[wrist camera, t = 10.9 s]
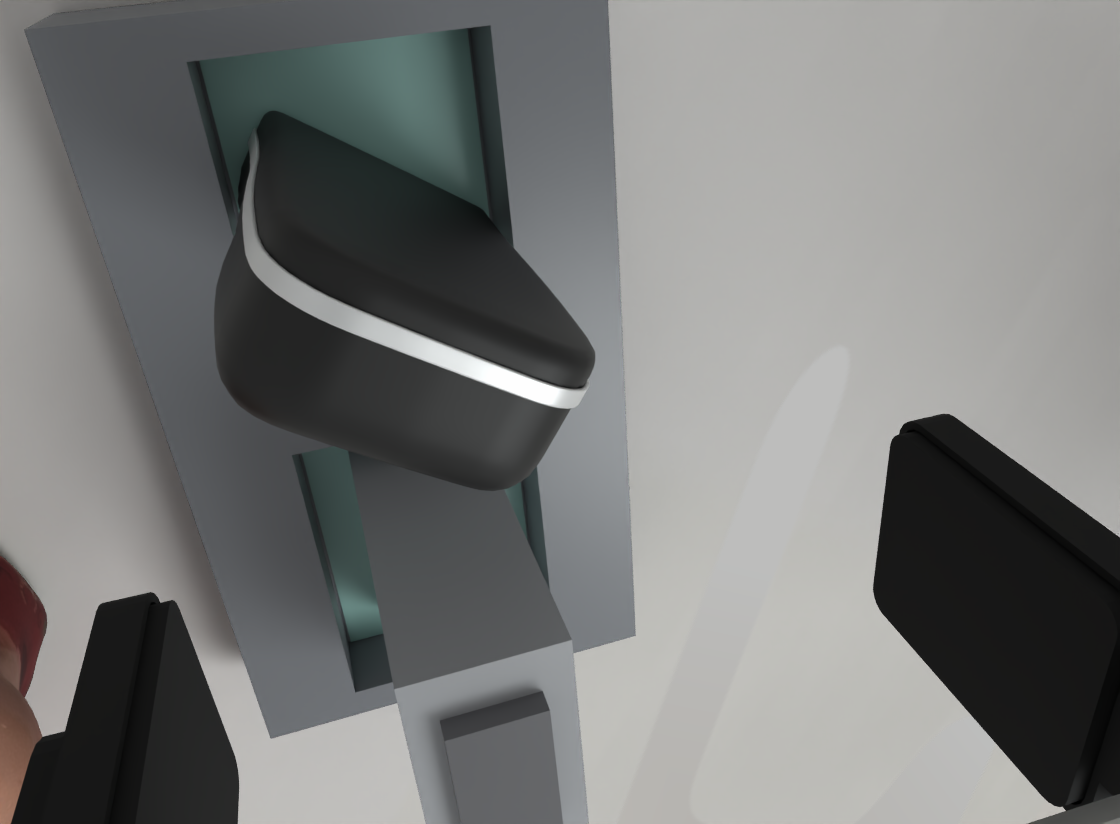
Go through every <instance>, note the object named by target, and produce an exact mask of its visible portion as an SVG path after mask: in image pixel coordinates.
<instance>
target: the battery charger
mask: <svg viewBox="0 0 1120 824" xmlns="http://www.w3.org/2000/svg"><path fill="white" fill-rule="evenodd" d="M248 147H249V150H248V153H247V155H246V157H245V160H244V162H243V165H242V167H241V174H240V181H239V186H238V205H239V209H240V211H239V216H238V221H237V227H236V233H235V235H234V237H233V240H232V242H231V245H230V247H229V249H228V252H227V254H226V257H225V259H224V261H223V264H222V268H221V271H220V275H219V278H218V282H217V286H216V294H215V303H214V336H215V352H216V363H217V368H218V372H219V375H220V378H221V381H222V382H223V384H224V386H225V387H226V389H227V391H228V392H229V394H230V395H231V397H232V398H233V399H234V400H235V402H236V403H237V404H238V405H239V406H240V407H241V408H243V409H244V410H246V411H247V412H248V413H250V414H251V415H252V416H254V417H256V418H258V419H260V420H262V421H264V422H266V423H268V424H270V425H273V426H276V427H278V428H281V429H284V430H286V431H289V432H292V433H295V434H298V435H301V436H304V437H307V438H310V439H313V440H316V441H319V442H322V443H326V444H329V445H332V446H335V447H338V448H341V449H344V450H347V451H350V452H353V453H357V454H360V455H363V456H366V457H369V458H372V459H375V460H378V461H381V462H385V463H388V464H391V465H395V466H398V467H401V468H405V469H408V470H411V471H415V472H418V473H421V474H425V475H428V476H431V477H435V478H438V479H441V480H445V481H448V482H451V483H455V484H458V485H461V486H465V487H469V488H473V489H477V490H484V491H496V490H503V489H508V488H510V487H512V486H514V485H516V484H518V483H519V482H521V481H522V480H524V479H525V478H527V477H528V476H530V474H531V473H532V472H533V470H534V469H535V468H536V466H537V465H538V464H539V462H540V461H541V460H542V458H543V456H544V454H545V453H546V451H547V449H548V448H549V446H550V444H551V442H552V441H553V439H554V437H555V435H556V434H557V432H558V430H559V429H560V427H561V425H562V423H563V422H564V420H565V418H566V416H567V415H568V413H569V411H570V410H571V408H575V407H576V406H578V405H579V403H580V401H581V400H582V398H583V396H584V394H585V393H586V391H587V389H588V387H589V379H588V378H589V377H590V375H591V373H592V370H593V368H594V364H595V350H594V349H593V347H592V345H591V343H590V342H589V340H588V338H587V336H586V335H585V334H584V332H583V331H582V330H581V328H580V327H579V326H578V324H577V323H576V322H575V320H574V319H573V318H572V316H571V315H570V314H569V313H568V311H567V310H566V309H565V307H564V306H563V305H562V304H561V302H560V301H559V300H558V299H557V297H556V296H555V295H554V294H553V293H552V291H551V290H550V289H549V288H548V287H547V285H546V284H545V283H544V282H543V281H542V279H541V278H540V277H539V276H538V275H537V274H536V273H535V271H534V270H533V269H532V268H531V267H530V266H529V264H528V263H527V262H526V261H525V260H524V259H523V258H522V257H521V255H520V254H519V253H518V252H517V251H516V250H515V249H514V248H513V247H512V245H511V244H510V243H509V242H508V241H507V240H506V239H505V237H504V236H503V235H502V234H501V232H500V231H499V230H498V229H497V227H496V226H495V225H494V223H493V222H492V221H491V219H490V218H489V217H488V216H487V214H486V213H485V211H484V210H483V209H481V208H480V207H478V206H476V205H474V204H472V203H470V202H468V201H466V200H464V199H462V198H459V197H457V196H455V195H453V194H451V193H449V192H447V191H445V190H443V189H441V188H439V187H437V186H435V185H433V184H431V183H429V182H426V181H424V180H422V179H420V178H418V177H416V176H414V175H412V174H410V173H408V172H406V171H404V170H402V169H400V168H397V167H395V166H393V165H391V164H389V163H387V162H385V161H383V160H381V159H379V158H377V157H375V156H372V155H370V154H368V153H366V152H364V151H362V150H360V149H358V148H356V147H354V146H351V145H349V144H347V143H345V142H343V141H341V140H339V139H337V138H335V137H333V136H331V135H328V134H326V133H324V132H322V131H320V130H318V129H316V128H314V127H312V126H309V125H307V124H305V123H303V122H301V121H299V120H297V119H295V118H293V117H290V116H288V115H286V114H284V113H281V112H278V111H269V112H267V113H266V114H264V116H263V118H262V119H261V121H260V123H259V126H258V128H254V129H253V131H252V133H251V135H250V138H249V140H248Z"/></svg>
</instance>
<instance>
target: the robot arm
mask: <svg viewBox="0 0 1120 824" xmlns="http://www.w3.org/2000/svg"><path fill="white" fill-rule="evenodd" d="M873 592H874V597H875V600H876V603H877V605H878V607H879V609H880V611H881V612H882V614H883V615H884V616H885V617H886V618H887V619H888V621H889V622H890V623H891V624H892V625H893V626H894V627H895V629H896V630H897V631H898V632H899V633H900V634H901V635H902V637H903V638H904V639H905V640H906V641H907V642H908V643H909V645H910V646H911V647H912V648H913V649H914V650H915V651H916V653H917V654H918V655H919V656H920V657H921V658H922V659H923V661H924V662H925V663H926V664H927V665H928V666H929V667H930V669H931V670H932V671H933V672H934V673H935V674H936V675H937V677H938V678H939V679H940V680H941V681H942V682H943V683H944V685H945V686H946V687H947V688H948V689H949V690H950V691H951V693H952V694H953V695H954V696H955V697H956V698H957V699H958V701H959V702H960V703H961V704H962V705H963V706H964V707H965V709H966V710H967V711H968V712H969V713H970V714H971V715H972V717H973V718H974V719H975V720H976V721H977V722H978V723H979V725H980V726H981V727H982V728H983V729H984V730H985V731H986V732H987V734H988V735H989V736H990V737H991V738H992V739H993V741H994V742H995V743H996V744H997V745H998V746H999V747H1000V749H1001V750H1002V751H1003V752H1004V753H1005V754H1006V755H1007V757H1008V758H1009V759H1010V760H1011V761H1012V762H1013V763H1014V765H1015V766H1016V767H1017V768H1018V769H1019V770H1020V771H1021V773H1022V774H1023V775H1024V776H1025V777H1026V778H1027V779H1028V781H1029V782H1030V783H1031V784H1032V785H1033V786H1034V787H1035V788H1036V790H1037V791H1038V792H1039V793H1040V794H1041V795H1042V796H1043V797H1044V798H1045V799H1046V800H1047V801H1048V802H1049V803H1051V804H1052V805H1054V806H1058V807H1063V808H1064V809H1065V810H1066V811H1065V812H1062V813H1059V814H1056V815H1053V816H1049V817H1046V818H1043V819H1040V820H1037V821H1034V822H1031V823H1028V824H1120V537H1118V536H1117V535H1115V534H1114V533H1113V532H1111V531H1110V530H1109V529H1107V528H1106V527H1105V526H1103V525H1102V524H1100V523H1099V522H1098V521H1096V520H1095V519H1094V518H1092V517H1091V516H1089V515H1088V514H1087V513H1085V512H1084V511H1083V510H1081V509H1080V508H1079V507H1077V506H1076V505H1074V504H1073V503H1072V502H1070V501H1069V500H1068V499H1066V498H1065V497H1063V496H1062V495H1061V494H1059V493H1058V492H1057V491H1055V490H1054V489H1053V488H1051V487H1050V486H1048V485H1047V484H1046V483H1044V482H1043V481H1042V480H1040V479H1039V478H1038V477H1036V476H1035V475H1033V474H1032V473H1031V472H1029V471H1028V470H1027V469H1025V468H1024V467H1022V466H1021V465H1020V464H1018V463H1017V462H1016V461H1014V460H1013V459H1012V458H1010V457H1009V456H1007V455H1006V454H1005V453H1003V452H1002V451H1001V450H999V449H998V448H996V447H995V446H994V445H992V444H991V443H990V442H988V441H987V440H986V439H984V438H983V437H981V436H980V435H979V434H977V433H976V432H975V431H973V430H972V429H970V428H969V427H968V426H966V425H965V424H964V423H962V422H961V421H960V420H958V419H957V418H955V417H954V416H952V415H950V414H940V415H936V416H932V417H927V418H923V419H918V420H914V421H909V422H907V423H905V424H904V425H903V426H902V428H901V429H900V433H899V435H897V436H895V437H894V438H893V439H892V441H891V445H890V452H889V461H888V469H887V477H886V485H885V494H884V502H883V510H882V518H881V526H880V535H879V543H878V551H877V559H876V568H875V576H874V584H873ZM238 801H239V776H238V768H237V763H236V759H235V756H234V752H233V750H232V747H231V744H230V742H229V739H228V737H227V734H226V731H225V729H224V726H223V723H222V721H221V718H220V715H219V713H218V710H217V707H216V705H215V702H214V699H213V697H212V694H211V691H210V689H209V686H208V684H207V681H206V678H205V676H204V673H203V670H202V668H201V665H200V662H199V660H198V657H197V654H196V652H195V649H194V646H193V644H192V641H191V638H190V636H189V633H188V631H187V628H186V625H185V623H184V620H183V617H182V615H181V612H180V609H179V607H178V605H177V603H176V602H175V601H173V600H171V601H167V602H162V603H160V601H159V599H158V597H157V596H156V595H155V594H154V593H152V592H150V593H145V594H141V595H137V596H132V597H128V598H123V599H119V600H114V601H110V602H106V603H102V604H101V605H99V606H98V609H97V611H96V615H95V618H94V622H93V626H92V630H91V634H90V638H89V641H88V645H87V649H86V653H85V657H84V661H83V665H82V668H81V672H80V676H79V680H78V684H77V688H76V691H75V695H74V699H73V703H72V707H71V711H70V714H69V718H68V722H67V726H66V730H65V732H61V733H57V734H53V735H49V736H44V737H42V738H41V739H40V740H39V741H38V742H37V743H36V745H35V747H34V749H33V752H32V754H31V757H30V760H29V763H28V767H27V770H26V774H25V777H24V780H23V784H22V787H21V791H20V794H19V797H18V801H17V804H16V808H15V811H14V814H13V818H12V821H11V824H238Z"/></svg>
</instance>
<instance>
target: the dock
mask: <svg viewBox="0 0 1120 824" xmlns="http://www.w3.org/2000/svg"><path fill="white" fill-rule="evenodd" d="M24 31H25V34H26V37H27V39H28V42H29V45H30V48H31V51H32V54H33V57H34V60H35V62H36V65H37V68H38V71H39V74H40V77H41V80H42V83H43V85H44V88H45V91H46V94H47V97H48V100H49V103H50V106H51V108H52V111H53V114H54V117H55V120H56V123H57V126H58V129H59V131H60V134H61V137H62V140H63V143H64V146H65V149H66V152H67V154H68V157H69V160H70V163H71V166H72V169H73V172H74V175H75V177H76V180H77V183H78V186H79V189H80V192H81V195H82V198H83V200H84V203H85V206H86V209H87V212H88V215H89V218H90V221H91V223H92V226H93V229H94V232H95V235H96V238H97V241H98V244H99V246H100V249H101V252H102V255H103V258H104V261H105V264H106V266H107V269H108V272H109V275H110V278H111V281H112V284H113V287H114V289H115V292H116V295H117V298H118V301H119V304H120V307H121V310H122V312H123V315H124V318H125V321H126V324H127V327H128V330H129V333H130V335H131V338H132V341H133V344H134V347H135V350H136V353H137V356H138V358H139V361H140V364H141V367H142V370H143V373H144V376H145V379H146V381H147V384H148V387H149V390H150V393H151V396H152V399H153V402H154V404H155V407H156V410H157V413H158V416H159V419H160V422H161V425H162V427H163V430H164V433H165V436H166V439H167V442H168V445H169V448H170V450H171V453H172V456H173V459H174V462H175V465H176V468H177V471H178V473H179V476H180V479H181V482H182V485H183V488H184V491H185V494H186V496H187V499H188V502H189V505H190V508H191V511H192V514H193V517H194V519H195V522H196V525H197V528H198V531H199V534H200V537H201V540H202V542H203V545H204V548H205V551H206V554H207V557H208V560H209V563H210V565H211V568H212V571H213V574H214V577H215V580H216V583H217V586H218V588H219V591H220V594H221V597H222V600H223V603H224V606H225V609H226V611H227V614H228V617H229V620H230V623H231V626H232V629H233V632H234V634H235V637H236V640H237V643H238V646H239V649H240V652H241V655H242V657H243V660H244V663H245V666H246V669H247V672H248V675H249V678H250V680H251V683H252V686H253V689H254V692H255V695H256V698H257V701H258V703H259V706H260V709H261V712H262V715H263V718H264V721H265V724H266V726H267V729H268V732H269V735H270V738H275V737H278V736H282V735H285V734H289V733H293V732H296V731H300V730H303V729H307V728H310V727H314V726H317V725H321V724H324V723H328V722H332V721H335V720H339V719H342V718H346V717H349V716H353V715H356V714H360V713H363V712H367V711H371V710H374V709H378V708H381V707H385V706H388V705H392V704H395V703H398V708H399V712H400V716H401V720H402V724H403V729H404V733H405V737H406V741H407V746H408V750H409V754H410V758H411V762H412V767H413V771H414V775H415V779H416V784H417V788H418V792H419V796H420V800H421V805H422V809H423V813H424V817H425V822H426V824H589V818H588V808H587V797H586V786H585V775H584V764H583V753H582V743H581V732H580V721H579V710H578V699H577V688H576V678H575V667H574V656H573V653H576V652H580V651H583V650H587V649H590V648H594V647H597V646H601V645H604V644H608V643H612V642H615V641H619V640H622V639H626V638H629V637H633V636H636V634H635V611H634V588H633V565H632V542H631V519H630V497H629V474H628V451H627V428H626V405H625V382H624V359H623V337H622V314H621V291H620V268H619V245H618V222H617V200H616V177H615V154H614V131H613V108H612V85H611V63H610V40H609V17H608V0H178V1H169V2H159V3H150V4H140V5H131V6H122V7H112V8H103V9H93V10H84V11H74V12H65V13H56V14H52V15H50V16H48V17H46V18H45V19H43V20H41V21H39V22H37V23H36V24H34V25H32V26H30V27H28V28H27V29H25V30H24ZM269 111H278V112H281V113H284V114H286V115H288V116H290V117H293V118H295V119H297V120H299V121H301V122H303V123H305V124H307V125H309V126H312V127H314V128H316V129H318V130H320V131H322V132H324V133H326V134H328V135H331V136H333V137H335V138H337V139H339V140H341V141H343V142H345V143H347V144H349V145H351V146H354V147H356V148H358V149H360V150H362V151H364V152H366V153H368V154H370V155H372V156H375V157H377V158H379V159H381V160H383V161H385V162H387V163H389V164H391V165H393V166H395V167H397V168H400V169H402V170H404V171H406V172H408V173H410V174H412V175H414V176H416V177H418V178H420V179H422V180H424V181H426V182H429V183H431V184H433V185H435V186H437V187H439V188H441V189H443V190H445V191H447V192H449V193H451V194H453V195H455V196H457V197H459V198H462V199H464V200H466V201H468V202H470V203H472V204H474V205H476V206H478V207H480V208H481V209H483V210H484V211H485V213H486V214H487V216H488V217H489V218H490V219H491V221H492V222H493V223H494V225H495V226H496V227H497V229H498V230H499V231H500V232H501V234H502V235H503V236H504V237H505V239H506V240H507V241H508V242H509V243H510V244H511V245H512V247H513V248H514V249H515V250H516V251H517V252H518V253H519V254H520V255H521V257H522V258H523V259H524V260H525V261H526V262H527V263H528V264H529V266H530V267H531V268H532V269H533V270H534V271H535V273H536V274H537V275H538V276H539V277H540V278H541V279H542V281H543V282H544V283H545V284H546V285H547V287H548V288H549V289H550V290H551V291H552V293H553V294H554V295H555V296H556V297H557V299H558V300H559V301H560V302H561V304H562V305H563V306H564V307H565V309H566V310H567V311H568V313H569V314H570V315H571V316H572V318H573V319H574V320H575V322H576V323H577V324H578V326H579V327H580V328H581V330H582V331H583V332H584V334H585V335H586V336H587V338H588V340H589V342H590V343H591V345H592V347H593V349H594V350H595V364H594V368H593V370H592V373H591V375H590V377H589V378H588V379H589V387H588V389H587V391H586V393H585V394H584V396H583V398H582V400H581V401H580V403H579V405H578V406H576V407H575V408H571V410H570V411H569V413H568V415H567V416H566V418H565V420H564V422H563V423H562V425H561V427H560V429H559V430H558V432H557V434H556V435H555V437H554V439H553V441H552V442H551V444H550V446H549V448H548V449H547V451H546V453H545V454H544V456H543V458H542V460H541V461H540V462H539V464H538V465H537V466H536V468H535V469H534V470H533V472H532V473H531V474H530V476H528V477H527V478H525V479H524V480H522V481H521V482H519V483H518V484H516V485H514V486H512V487H510V488H508V489H503V490H496V491H484V490H477V489H473V488H469V487H465V486H461V485H458V484H455V483H451V482H448V481H445V480H441V479H438V478H435V477H431V476H428V475H425V474H421V473H418V472H415V471H411V470H408V469H405V468H401V467H398V466H395V465H391V464H388V463H385V462H381V461H378V460H375V459H372V458H369V457H366V456H363V455H360V454H357V453H353V452H350V451H347V450H344V449H341V448H338V447H335V446H332V445H329V444H326V443H322V442H319V441H316V440H313V439H310V438H307V437H304V436H301V435H298V434H295V433H292V432H289V431H286V430H284V429H281V428H278V427H276V426H273V425H270V424H268V423H266V422H264V421H262V420H260V419H258V418H256V417H254V416H252V415H251V414H250V413H248V412H247V411H246V410H244V409H243V408H241V407H240V406H239V405H238V404H237V403H236V402H235V400H234V399H233V398H232V397H231V395H230V394H229V392H228V391H227V389H226V387H225V386H224V384H223V382H222V381H221V378H220V375H219V372H218V368H217V363H216V352H215V336H214V303H215V294H216V286H217V282H218V278H219V275H220V271H221V268H222V264H223V261H224V259H225V257H226V254H227V252H228V249H229V247H230V245H231V242H232V240H233V237H234V235H235V233H236V227H237V221H238V216H239V211H240V209H239V205H238V186H239V181H240V174H241V167H242V165H243V162H244V160H245V157H246V155H247V153H248V150H249V147H248V140H249V138H250V135H251V133H252V131H253V129H254V128H258V126H259V123H260V121H261V119H262V118H263V116H264V114H266V113H267V112H269Z"/></svg>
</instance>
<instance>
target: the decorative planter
mask: <svg viewBox="0 0 1120 824" xmlns="http://www.w3.org/2000/svg"><path fill="white" fill-rule="evenodd" d="M46 628H47V615H46V612H45V609H44V606H43V604H42V602H41V601H40V599H39V597H38V596H37V595H36V593H35V592H34V591H33V590H32V588H31V587H30V586H29V584H28V583H27V582H26V581H25V579H24V578H23V577H22V576H21V574H20V573H19V572H18V571H17V570H16V569H15V568H14V567H13V566H12V565H11V564H10V563H9V562H8V561H7V560H6V559H5V558H3V557H2V556H0V824H11V821H12V818H13V814H14V811H15V808H16V804H17V801H18V797H19V794H20V791H21V787H22V784H23V780H24V777H25V774H26V770H27V767H28V763H29V760H30V757H31V754H32V752H33V749H34V747H35V745H36V743H37V742H38V741H39V740H40V739H41V738H42V734H41V731H40V728H39V725H38V722H37V720H36V718H35V716H34V713H33V711H32V709H31V707H30V706H29V704H28V702H27V701H26V699H25V696H26V693H27V691H28V689H29V687H30V684H31V681H32V678H33V674H34V670H35V665H36V661H37V657H38V654H39V650H40V647H41V644H42V641H43V638H44V636H45V633H46Z"/></svg>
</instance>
